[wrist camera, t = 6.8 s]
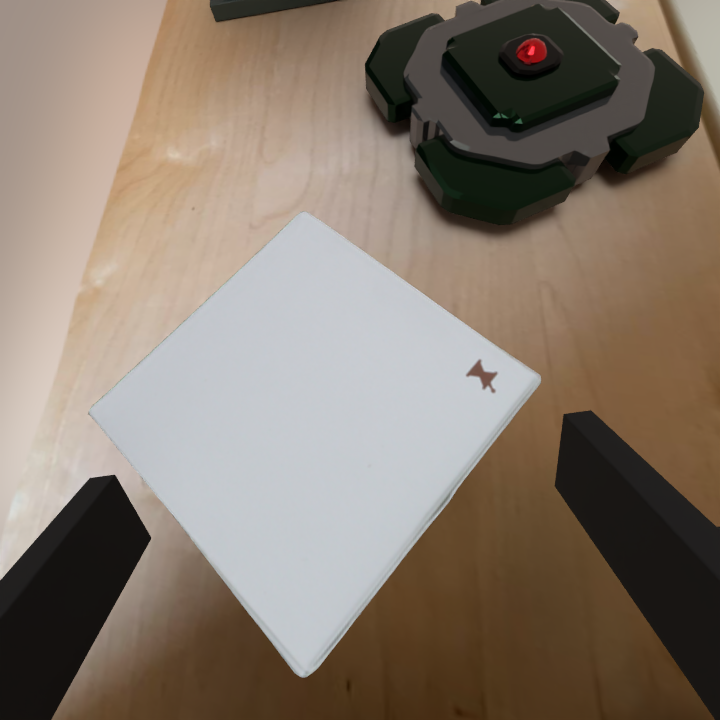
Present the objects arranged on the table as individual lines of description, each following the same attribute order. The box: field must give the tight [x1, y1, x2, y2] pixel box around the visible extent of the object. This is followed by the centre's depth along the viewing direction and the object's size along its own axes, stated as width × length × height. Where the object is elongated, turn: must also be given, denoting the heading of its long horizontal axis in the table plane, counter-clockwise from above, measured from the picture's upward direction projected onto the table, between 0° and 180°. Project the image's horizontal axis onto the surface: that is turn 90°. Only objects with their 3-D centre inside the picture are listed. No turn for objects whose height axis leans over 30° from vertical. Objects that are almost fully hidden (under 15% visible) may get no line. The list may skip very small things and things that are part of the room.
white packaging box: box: [88, 211, 541, 678], centre depth 14 cm, size 7×7×13 cm
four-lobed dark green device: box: [365, 0, 704, 225], centre depth 24 cm, size 18×18×5 cm
